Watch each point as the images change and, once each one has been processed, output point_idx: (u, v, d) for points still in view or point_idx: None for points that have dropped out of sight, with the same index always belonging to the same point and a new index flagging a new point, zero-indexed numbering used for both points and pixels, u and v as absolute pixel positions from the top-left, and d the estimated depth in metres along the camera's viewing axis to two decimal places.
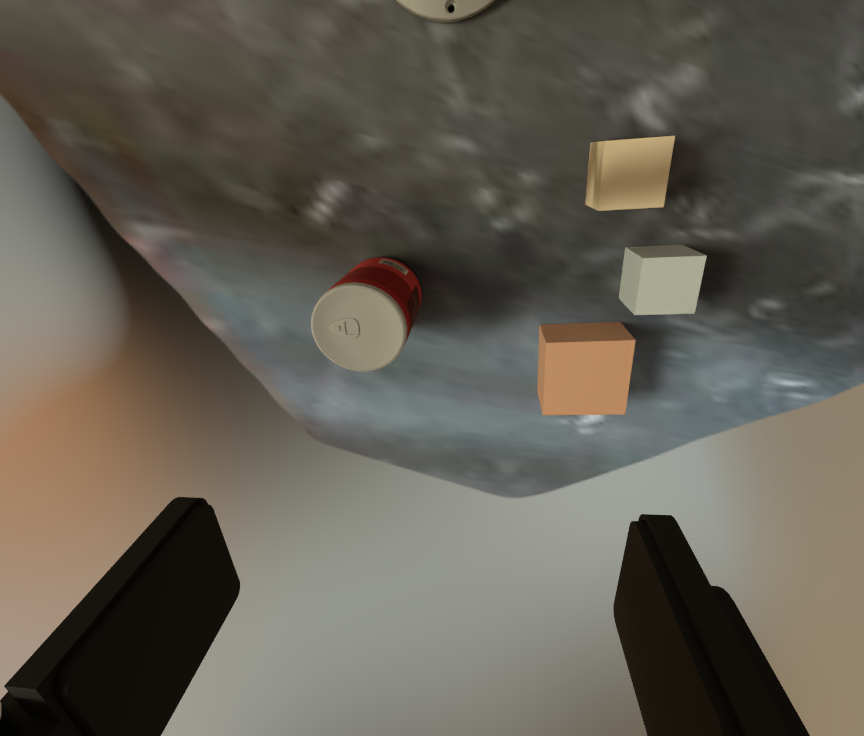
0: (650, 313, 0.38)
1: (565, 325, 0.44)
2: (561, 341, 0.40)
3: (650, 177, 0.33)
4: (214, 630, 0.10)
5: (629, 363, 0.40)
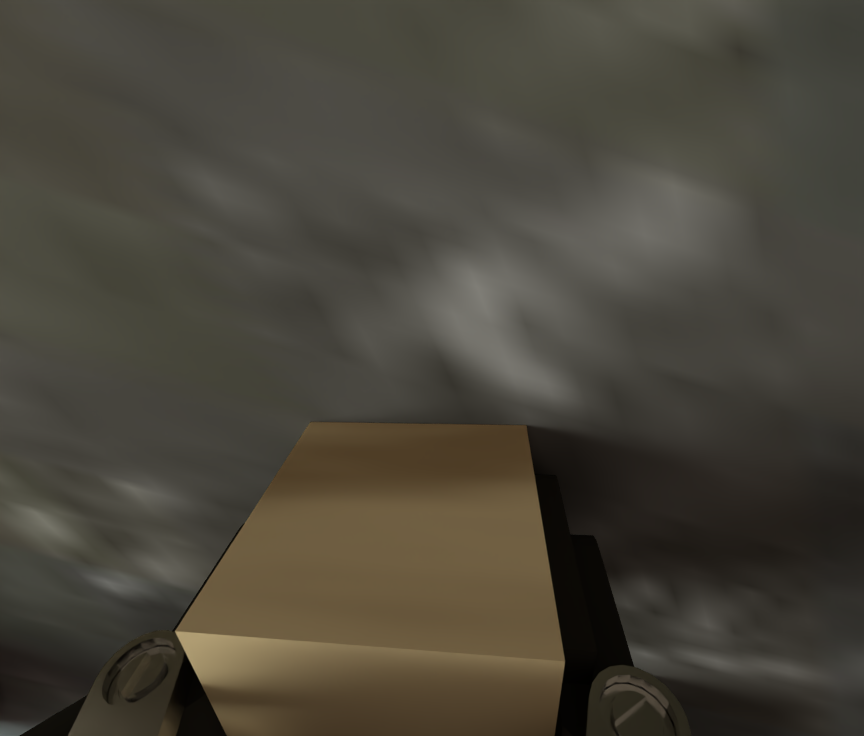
0: None
1: None
2: None
3: None
4: None
5: None
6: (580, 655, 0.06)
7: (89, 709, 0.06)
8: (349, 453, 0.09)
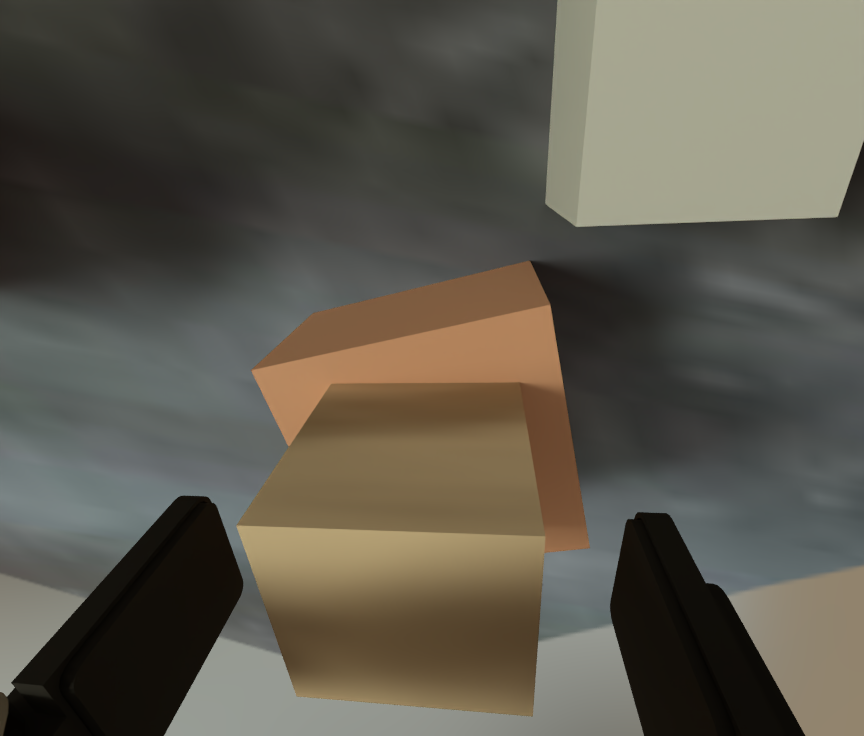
0: (643, 218, 0.09)
1: (373, 301, 0.15)
2: (303, 355, 0.12)
3: (462, 643, 0.08)
4: (218, 628, 0.10)
5: (554, 393, 0.11)
6: None
7: None
8: (367, 405, 0.10)
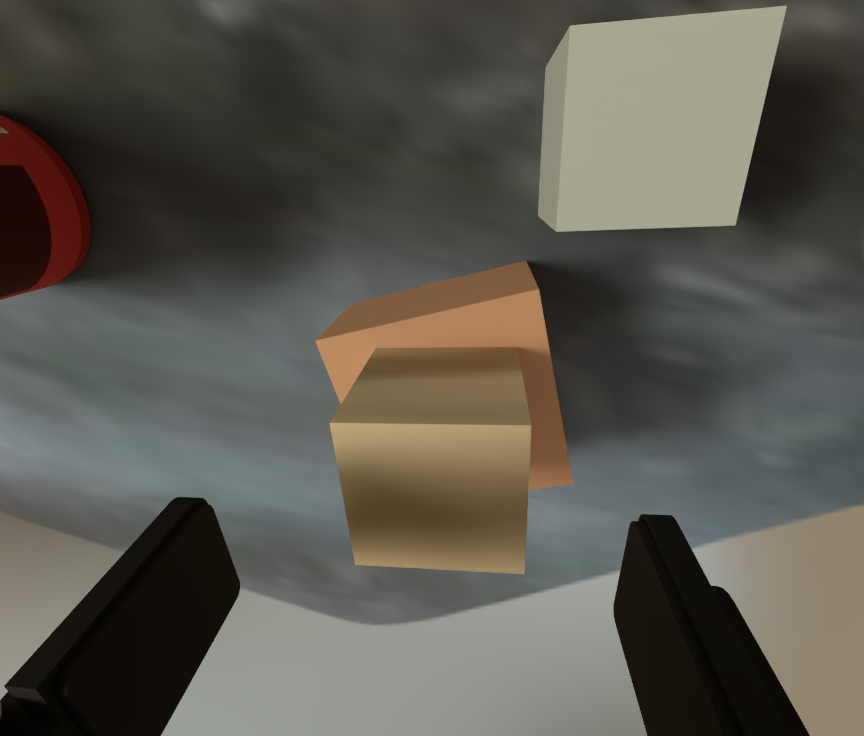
0: (602, 226, 0.13)
1: (401, 293, 0.19)
2: (354, 329, 0.15)
3: (476, 513, 0.12)
4: (214, 630, 0.10)
5: (543, 356, 0.15)
6: None
7: None
8: (405, 361, 0.14)
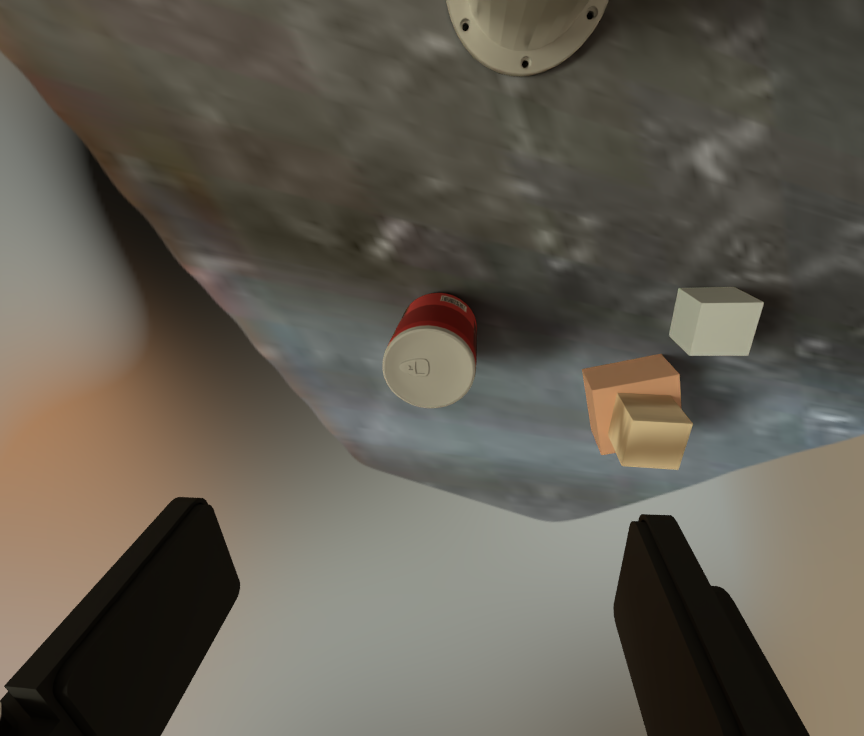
0: (705, 354, 0.39)
1: (607, 366, 0.46)
2: (606, 386, 0.42)
3: (668, 449, 0.38)
4: (214, 630, 0.10)
5: (677, 396, 0.42)
6: None
7: None
8: (634, 399, 0.41)
